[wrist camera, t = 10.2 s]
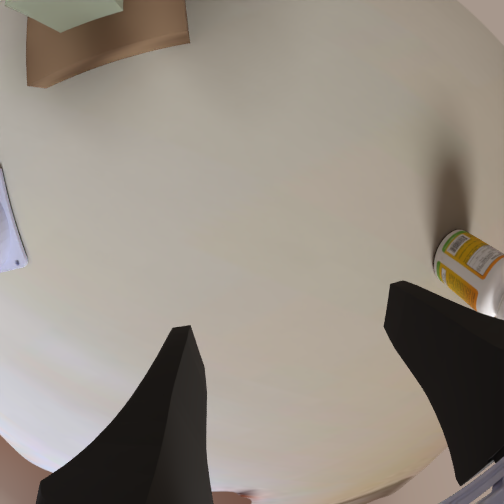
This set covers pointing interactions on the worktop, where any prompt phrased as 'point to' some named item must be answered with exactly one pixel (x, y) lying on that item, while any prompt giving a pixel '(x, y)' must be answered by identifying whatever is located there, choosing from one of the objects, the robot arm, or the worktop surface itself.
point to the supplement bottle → (472, 272)
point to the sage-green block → (65, 11)
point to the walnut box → (103, 40)
